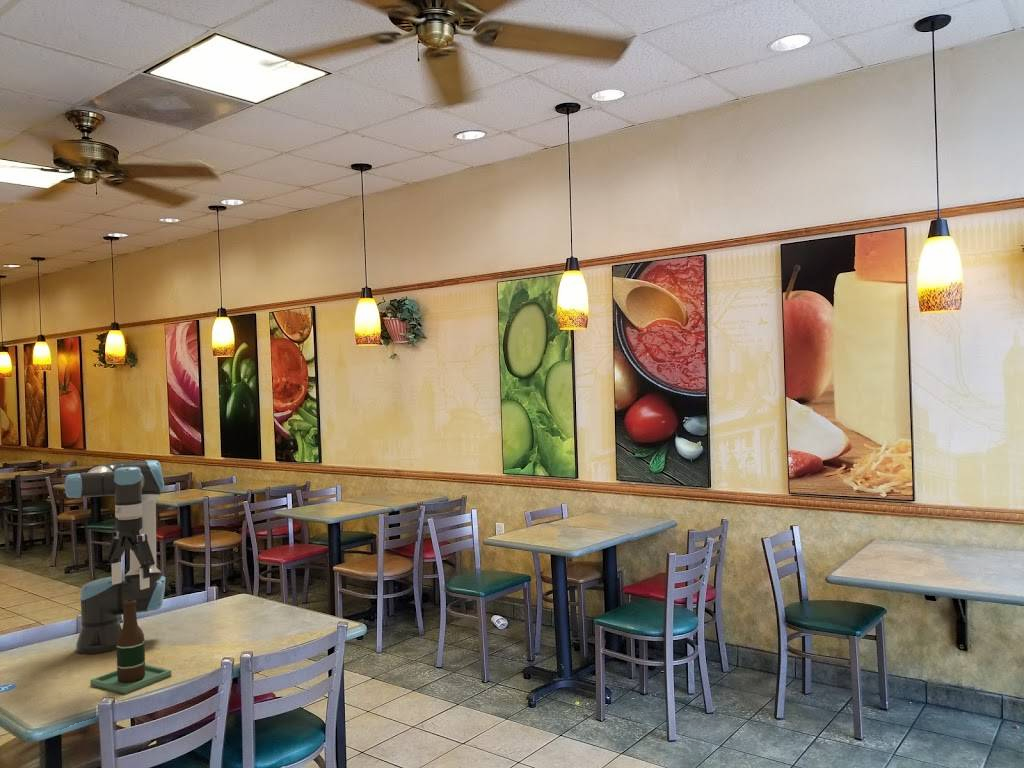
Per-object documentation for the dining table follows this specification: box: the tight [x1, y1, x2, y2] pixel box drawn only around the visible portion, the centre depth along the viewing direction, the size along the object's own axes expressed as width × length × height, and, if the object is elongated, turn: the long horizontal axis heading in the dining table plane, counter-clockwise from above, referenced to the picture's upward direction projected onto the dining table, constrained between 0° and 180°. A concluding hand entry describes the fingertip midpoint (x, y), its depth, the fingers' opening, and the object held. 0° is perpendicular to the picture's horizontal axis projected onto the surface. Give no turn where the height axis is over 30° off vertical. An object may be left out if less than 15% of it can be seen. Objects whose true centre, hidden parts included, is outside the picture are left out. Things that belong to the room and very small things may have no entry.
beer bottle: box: [116, 599, 146, 683], centre depth 239 cm, size 8×8×24 cm
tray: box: [90, 663, 172, 695], centre depth 238 cm, size 16×16×2 cm
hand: (130, 586), depth 240 cm, fingers open, 13 cm apart
